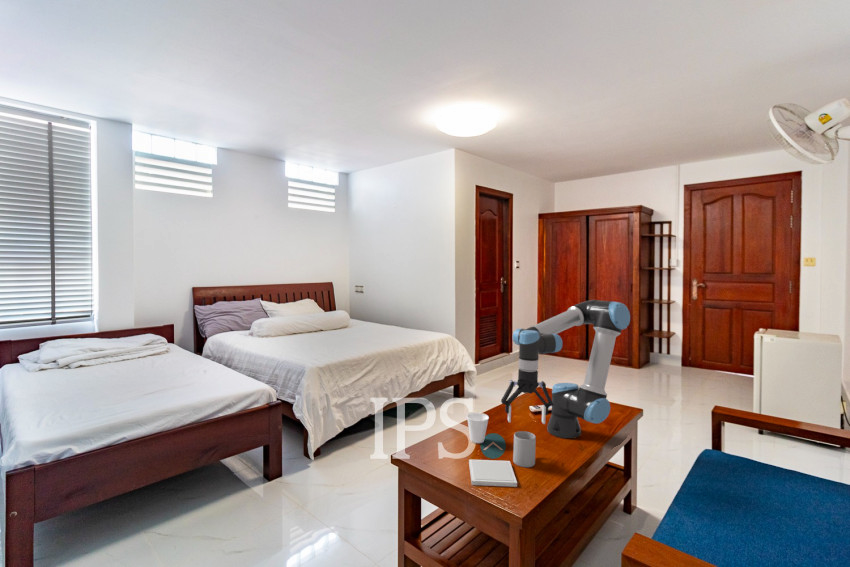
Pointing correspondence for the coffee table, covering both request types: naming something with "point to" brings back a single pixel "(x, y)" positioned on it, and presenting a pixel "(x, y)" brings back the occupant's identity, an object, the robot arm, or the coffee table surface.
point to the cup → (477, 426)
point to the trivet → (492, 473)
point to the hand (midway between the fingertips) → (526, 422)
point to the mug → (524, 449)
